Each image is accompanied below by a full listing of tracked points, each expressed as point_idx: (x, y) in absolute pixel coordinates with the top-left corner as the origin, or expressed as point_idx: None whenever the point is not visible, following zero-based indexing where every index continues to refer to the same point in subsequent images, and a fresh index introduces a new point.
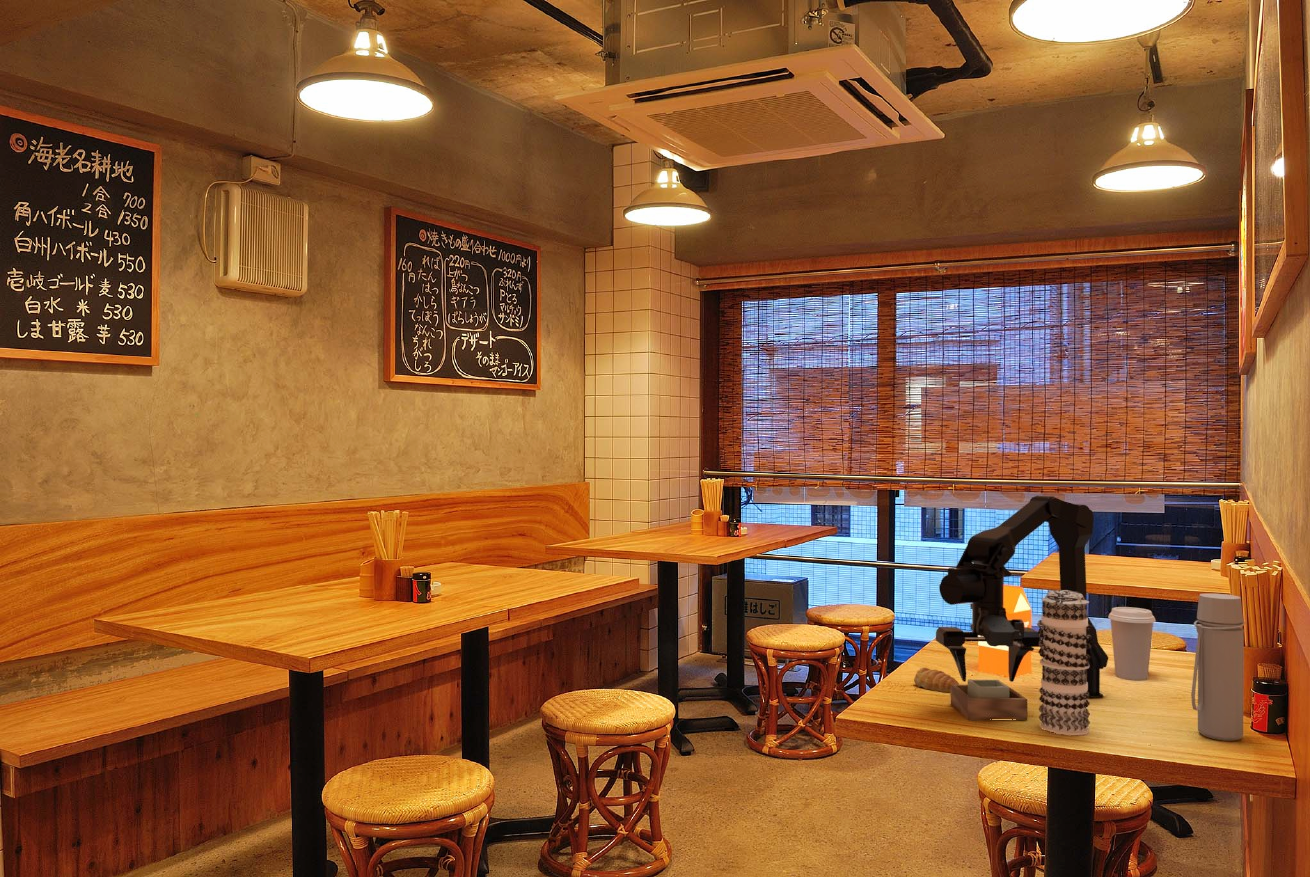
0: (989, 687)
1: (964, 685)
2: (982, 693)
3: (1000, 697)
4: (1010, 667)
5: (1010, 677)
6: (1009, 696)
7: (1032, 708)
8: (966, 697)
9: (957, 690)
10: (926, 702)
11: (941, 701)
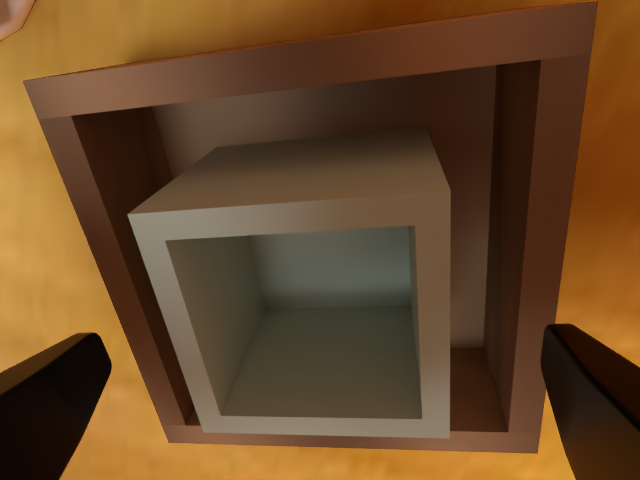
0: (322, 199)
1: None
2: (396, 173)
3: (240, 174)
4: (17, 468)
5: (82, 368)
6: None
7: (94, 308)
8: (584, 92)
9: None
10: None
11: None
